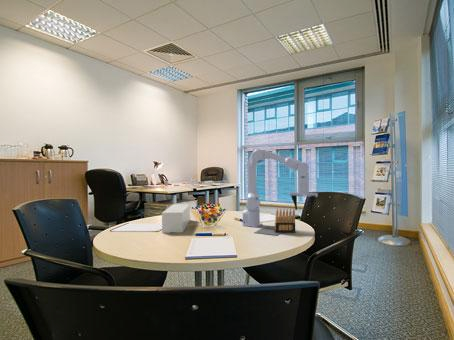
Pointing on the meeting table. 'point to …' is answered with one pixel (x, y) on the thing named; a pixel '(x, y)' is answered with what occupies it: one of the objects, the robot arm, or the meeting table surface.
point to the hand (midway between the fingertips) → (303, 209)
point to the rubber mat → (267, 231)
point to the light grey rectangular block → (175, 218)
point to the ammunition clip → (285, 222)
